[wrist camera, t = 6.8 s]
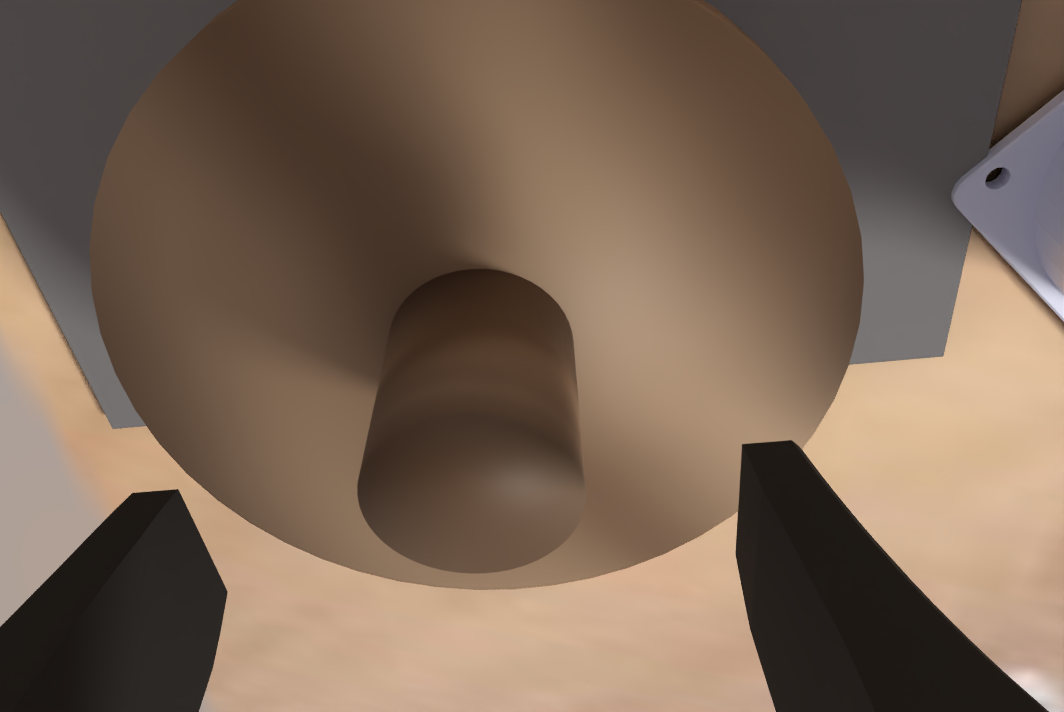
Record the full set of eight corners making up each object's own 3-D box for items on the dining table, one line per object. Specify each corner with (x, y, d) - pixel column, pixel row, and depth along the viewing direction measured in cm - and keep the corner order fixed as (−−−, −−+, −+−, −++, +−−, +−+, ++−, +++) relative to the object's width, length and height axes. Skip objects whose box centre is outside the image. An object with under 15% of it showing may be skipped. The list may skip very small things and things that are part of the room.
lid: (499, -320, 10) (488, -340, 7) (979, 342, 16) (1108, 519, 13) (-37, 301, 15) (-206, 477, 12) (475, 634, 21) (465, 819, 18)
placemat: (-257, -317, 14) (-274, -318, 14) (1119, -507, 13) (1135, -512, 13) (118, 419, 24) (112, 428, 23) (937, 347, 23) (943, 356, 22)
